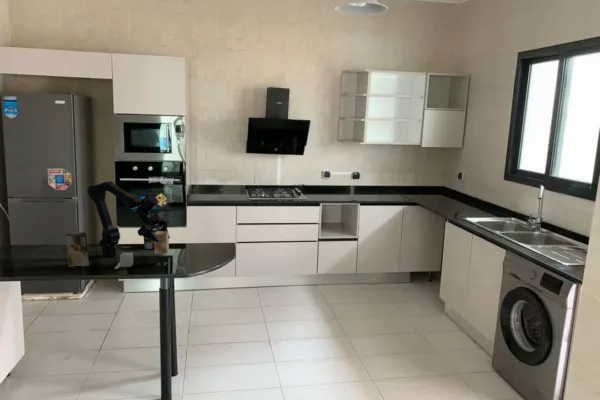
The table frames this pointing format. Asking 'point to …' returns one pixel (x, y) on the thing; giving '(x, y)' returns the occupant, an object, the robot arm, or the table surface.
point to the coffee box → (77, 249)
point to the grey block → (126, 259)
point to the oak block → (162, 242)
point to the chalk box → (149, 241)
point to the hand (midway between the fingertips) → (163, 240)
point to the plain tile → (117, 266)
